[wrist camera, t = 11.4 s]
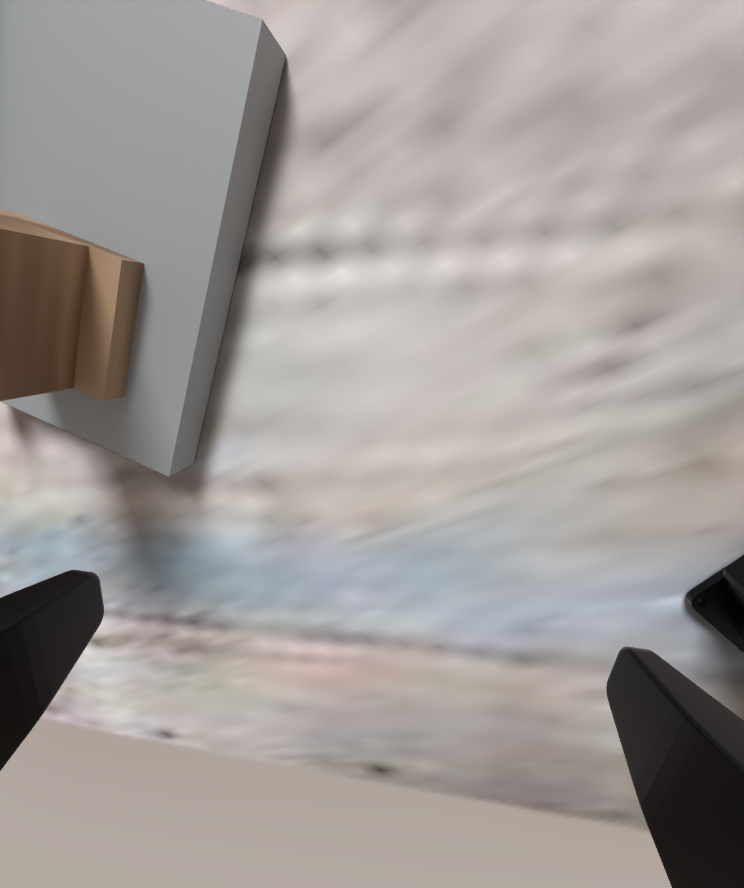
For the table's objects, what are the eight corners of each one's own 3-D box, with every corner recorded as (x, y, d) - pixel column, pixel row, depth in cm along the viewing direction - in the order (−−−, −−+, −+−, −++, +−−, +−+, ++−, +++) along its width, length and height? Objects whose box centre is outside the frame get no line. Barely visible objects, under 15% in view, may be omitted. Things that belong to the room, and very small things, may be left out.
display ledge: (286, 55, 16) (239, -15, 12) (194, 463, 22) (146, 488, 18) (18, -37, 17) (-91, -126, 13) (1, 378, 23) (-76, 388, 19)
